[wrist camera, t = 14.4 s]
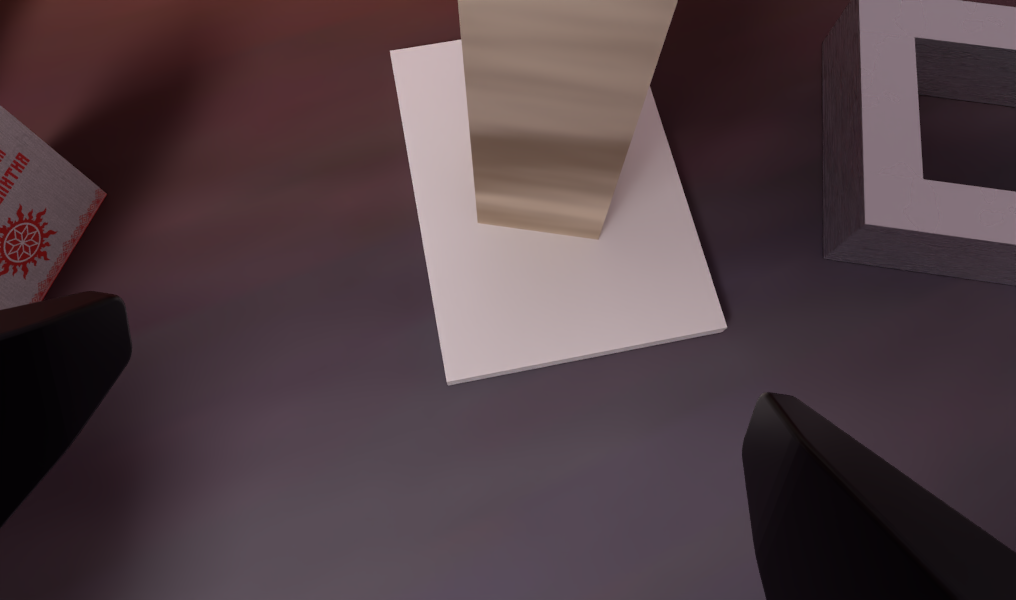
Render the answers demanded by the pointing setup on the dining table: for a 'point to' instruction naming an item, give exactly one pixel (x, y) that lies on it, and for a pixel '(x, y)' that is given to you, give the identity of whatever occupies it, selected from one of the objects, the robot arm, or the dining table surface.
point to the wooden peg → (555, 104)
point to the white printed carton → (37, 212)
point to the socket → (913, 137)
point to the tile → (546, 246)
